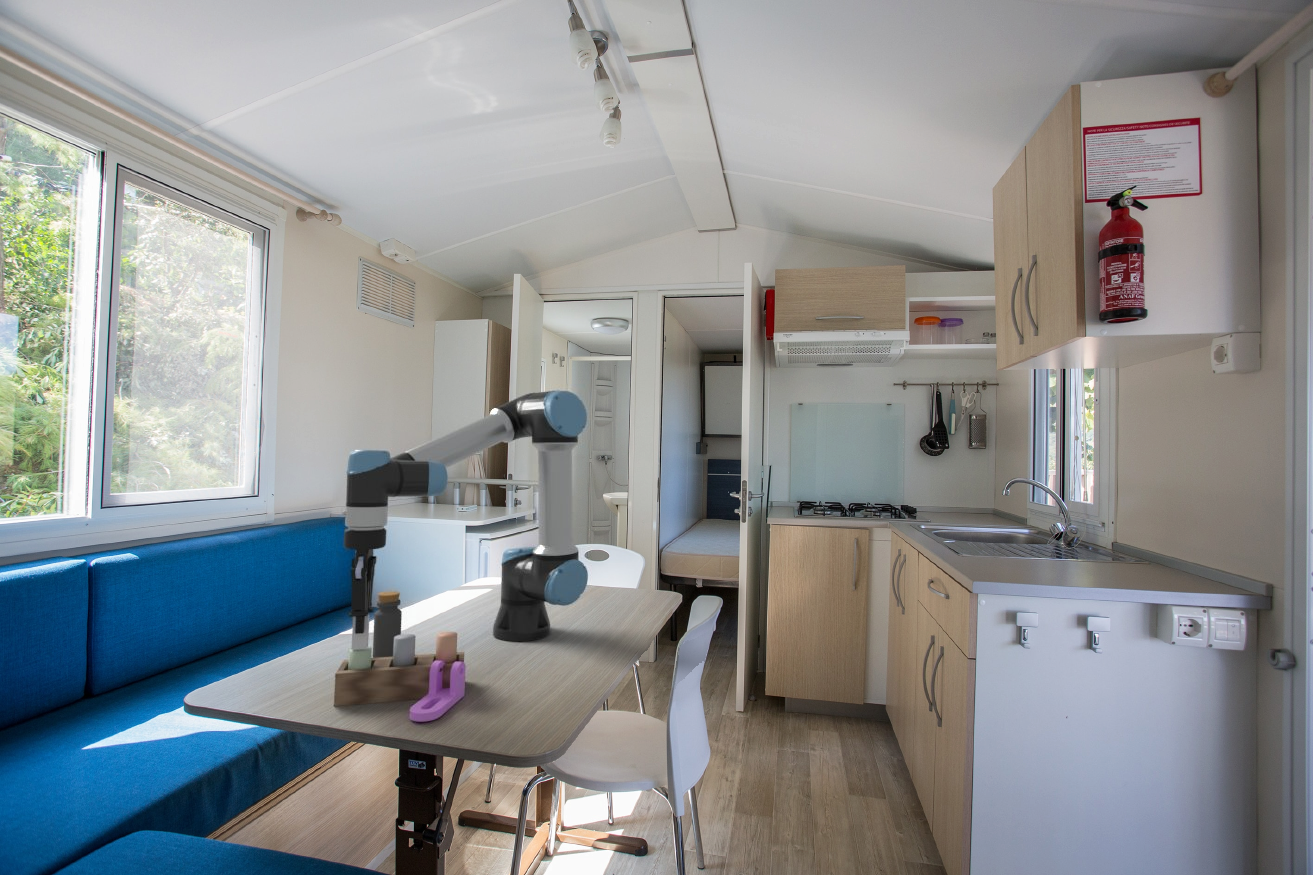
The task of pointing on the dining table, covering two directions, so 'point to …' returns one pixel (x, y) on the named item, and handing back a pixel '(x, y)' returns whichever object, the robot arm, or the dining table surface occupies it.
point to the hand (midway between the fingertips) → (359, 648)
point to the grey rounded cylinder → (404, 650)
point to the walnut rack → (387, 680)
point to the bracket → (440, 693)
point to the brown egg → (446, 647)
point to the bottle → (386, 624)
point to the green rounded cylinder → (360, 659)
